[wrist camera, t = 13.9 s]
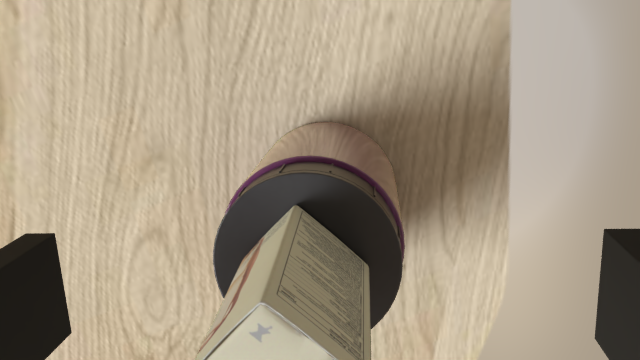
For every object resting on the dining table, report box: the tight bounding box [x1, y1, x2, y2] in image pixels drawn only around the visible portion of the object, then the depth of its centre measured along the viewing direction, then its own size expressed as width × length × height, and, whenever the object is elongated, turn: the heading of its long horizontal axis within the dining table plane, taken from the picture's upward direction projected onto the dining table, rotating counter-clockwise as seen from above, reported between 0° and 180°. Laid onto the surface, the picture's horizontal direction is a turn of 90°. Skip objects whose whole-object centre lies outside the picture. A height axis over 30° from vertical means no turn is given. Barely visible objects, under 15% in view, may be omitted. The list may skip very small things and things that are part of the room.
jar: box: [225, 122, 405, 263], centre depth 36 cm, size 10×10×13 cm
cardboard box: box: [195, 205, 371, 360], centre depth 25 cm, size 5×4×10 cm
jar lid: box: [213, 162, 403, 329], centre depth 31 cm, size 10×10×2 cm
